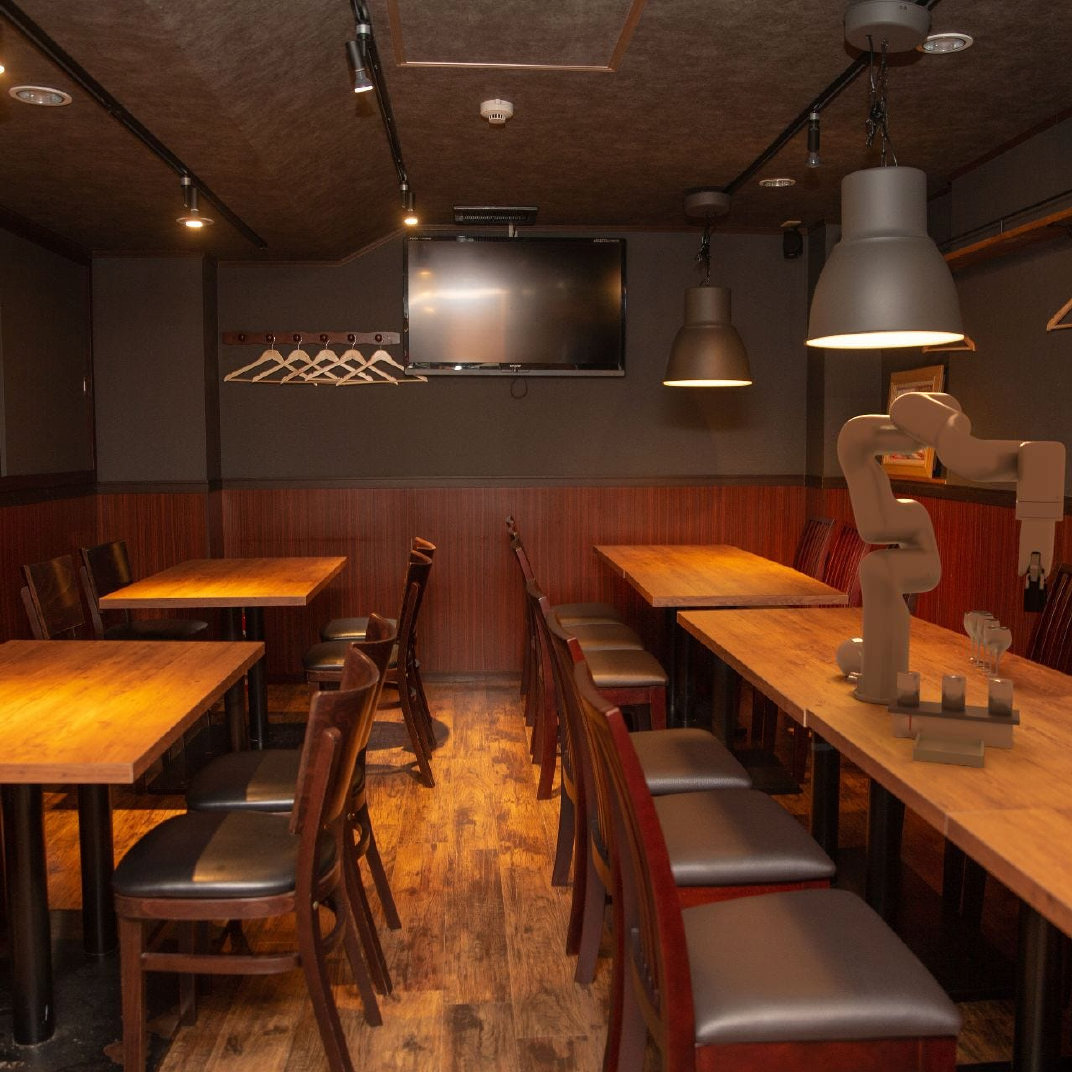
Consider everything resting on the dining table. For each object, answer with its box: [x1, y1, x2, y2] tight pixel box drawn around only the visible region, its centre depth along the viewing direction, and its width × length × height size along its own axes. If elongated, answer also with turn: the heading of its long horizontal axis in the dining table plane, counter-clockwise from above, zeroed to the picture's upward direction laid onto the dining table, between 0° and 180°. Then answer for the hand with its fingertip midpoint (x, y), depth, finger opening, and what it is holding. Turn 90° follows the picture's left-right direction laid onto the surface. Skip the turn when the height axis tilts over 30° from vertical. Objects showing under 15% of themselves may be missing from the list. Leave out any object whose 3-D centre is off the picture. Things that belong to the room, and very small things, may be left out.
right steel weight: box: [987, 677, 1014, 716], centre depth 189 cm, size 4×4×6 cm
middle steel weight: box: [941, 673, 967, 712], centre depth 192 cm, size 4×4×6 cm
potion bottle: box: [834, 636, 862, 677], centre depth 243 cm, size 9×10×15 cm
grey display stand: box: [886, 698, 1021, 750], centre depth 192 cm, size 22×8×5 cm, turn 66°
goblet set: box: [963, 610, 1013, 679], centre depth 252 cm, size 28×6×13 cm, turn 170°
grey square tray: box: [912, 733, 985, 769], centre depth 181 cm, size 11×11×2 cm
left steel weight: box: [897, 670, 921, 707], centre depth 195 cm, size 4×4×6 cm
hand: (1035, 608), depth 186 cm, fingers open, 9 cm apart
